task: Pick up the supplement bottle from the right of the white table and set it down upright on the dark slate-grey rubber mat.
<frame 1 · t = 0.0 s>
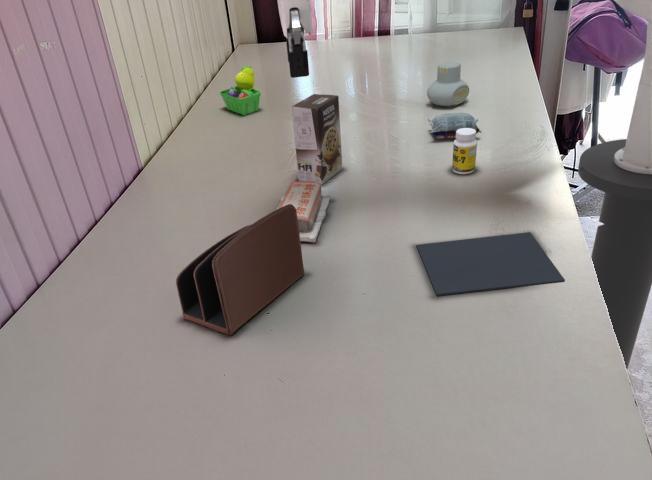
hand: (298, 68, 112), 27 cm above the table, tool pointing down, fingers open, 9 cm apart
mat: (486, 263, 105), on the table
letter holder: (246, 297, 104), on the table
supplement bottle: (463, 171, 135), on the table
packaged product: (299, 221, 124), on the table
packaged food: (453, 135, 152), on the table
air freshener: (447, 104, 170), on the table
fruit basket: (244, 110, 182), on the table
coffee box: (321, 175, 140), on the table
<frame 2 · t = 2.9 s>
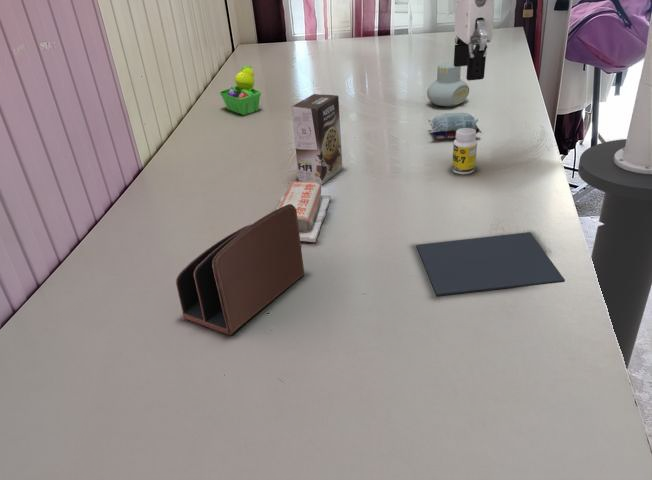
hand: (468, 72, 123), 20 cm above the table, tool pointing down, fingers open, 9 cm apart
nothing on the table moved.
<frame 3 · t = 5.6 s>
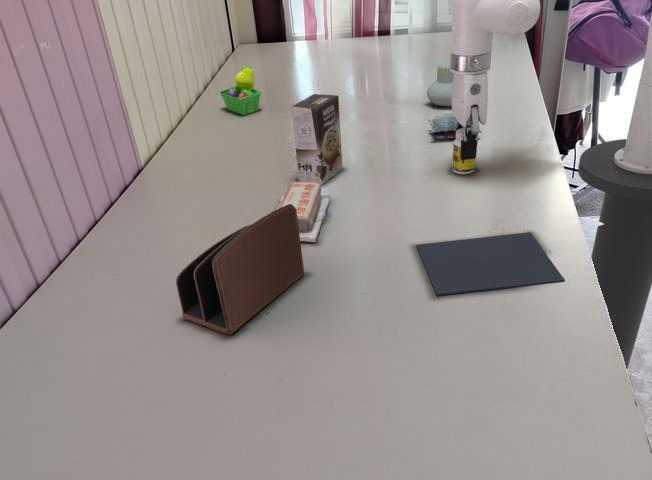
hand: (464, 152, 133), 4 cm above the table, tool pointing down, fingers closed on supplement bottle, 4 cm apart
supplement bottle: (463, 171, 135), on the table, touching gripper
everything else where it was.
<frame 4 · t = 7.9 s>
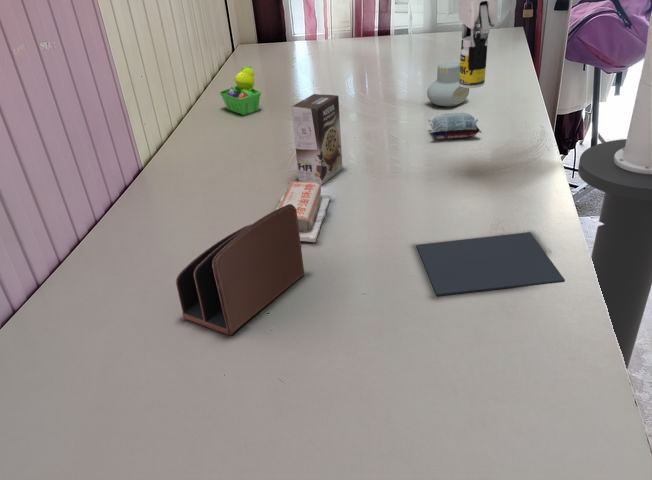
hand: (473, 64, 120), 22 cm above the table, tool pointing down, fingers closed on supplement bottle, 4 cm apart
supplement bottle: (471, 86, 123), point 18 cm above the table, touching gripper
everything else where it was.
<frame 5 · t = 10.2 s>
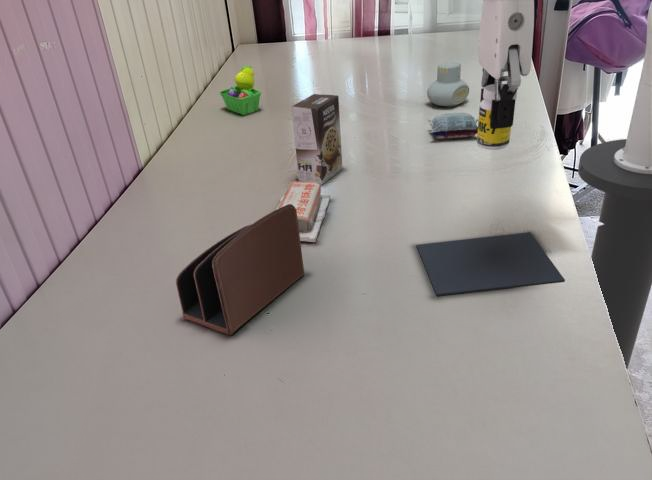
hand: (495, 119, 94), 22 cm above the table, tool pointing down, fingers closed on supplement bottle, 4 cm apart
supplement bottle: (492, 146, 97), point 18 cm above the table, touching gripper
everything else where it was.
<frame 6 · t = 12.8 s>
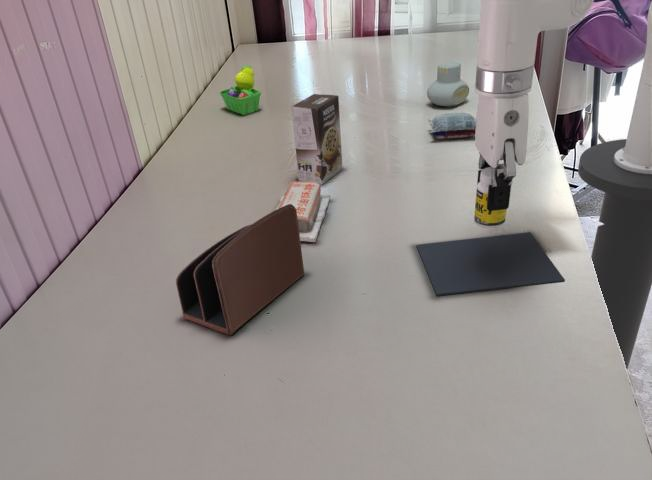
hand: (492, 200, 98), 11 cm above the table, tool pointing down, fingers closed on supplement bottle, 4 cm apart
supplement bottle: (489, 223, 101), point 7 cm above the table, touching gripper
everything else where it was.
when the fingers open (4 cm above the table, at t = 14.9 s): supplement bottle stays where it is, resting on mat.
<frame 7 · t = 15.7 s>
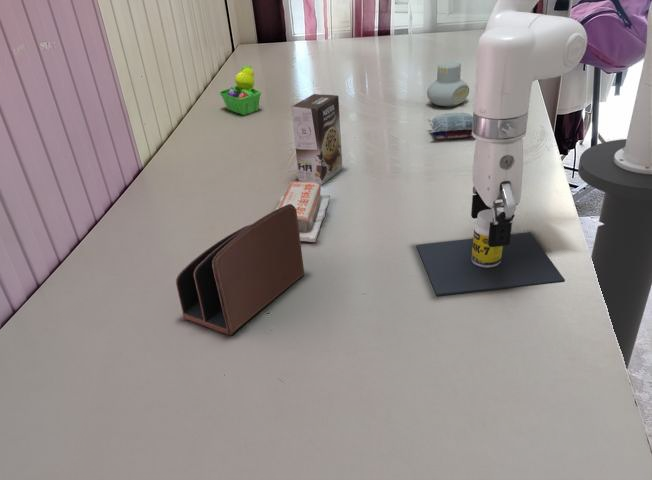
hand: (489, 230, 102), 6 cm above the table, tool pointing down, fingers open, 9 cm apart
supplement bottle: (486, 262, 105), resting on mat
everything else where it was.
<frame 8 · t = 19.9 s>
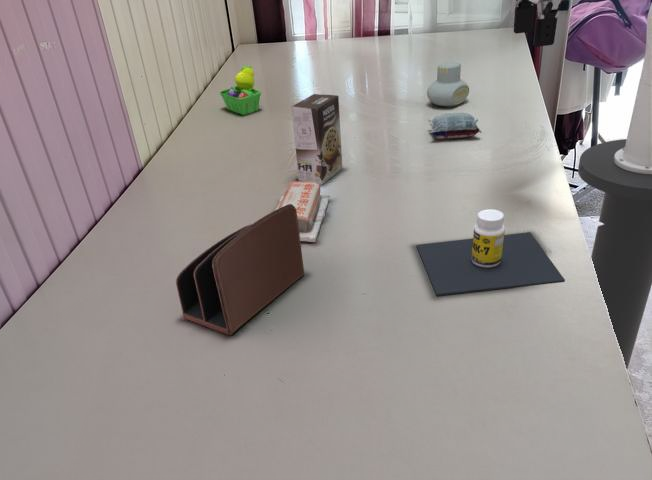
hand: (532, 38, 106), 28 cm above the table, tool pointing down, fingers open, 9 cm apart
nothing on the table moved.
at the end: supplement bottle inside the target area on the mat (0.1 cm from its centre), point 0.2 cm above the mat's base; supplement bottle tilted 0°; supplement bottle moved 38.4 cm from its start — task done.
